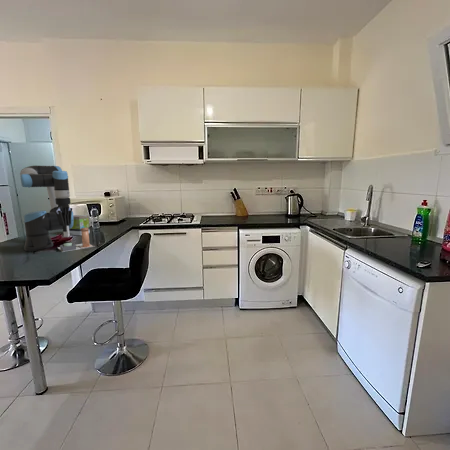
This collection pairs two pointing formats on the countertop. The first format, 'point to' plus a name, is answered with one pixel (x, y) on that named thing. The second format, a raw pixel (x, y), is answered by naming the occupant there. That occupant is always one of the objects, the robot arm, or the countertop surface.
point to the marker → (85, 237)
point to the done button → (67, 244)
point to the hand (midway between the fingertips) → (66, 236)
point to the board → (79, 247)
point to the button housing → (68, 247)
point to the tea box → (79, 224)
